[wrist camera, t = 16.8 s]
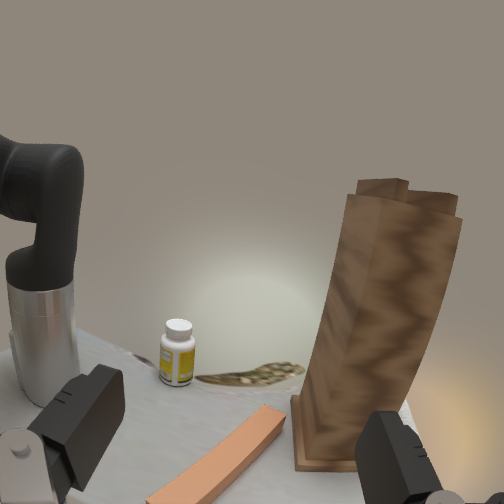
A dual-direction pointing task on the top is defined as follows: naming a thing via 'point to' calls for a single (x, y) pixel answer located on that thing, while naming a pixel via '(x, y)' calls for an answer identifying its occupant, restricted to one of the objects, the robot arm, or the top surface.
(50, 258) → the robot arm
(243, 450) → the bar
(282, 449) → the top surface
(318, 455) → the stand
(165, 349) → the supplement bottle
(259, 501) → the top surface
